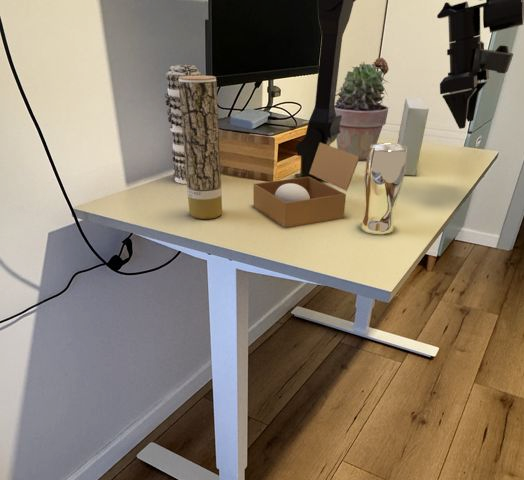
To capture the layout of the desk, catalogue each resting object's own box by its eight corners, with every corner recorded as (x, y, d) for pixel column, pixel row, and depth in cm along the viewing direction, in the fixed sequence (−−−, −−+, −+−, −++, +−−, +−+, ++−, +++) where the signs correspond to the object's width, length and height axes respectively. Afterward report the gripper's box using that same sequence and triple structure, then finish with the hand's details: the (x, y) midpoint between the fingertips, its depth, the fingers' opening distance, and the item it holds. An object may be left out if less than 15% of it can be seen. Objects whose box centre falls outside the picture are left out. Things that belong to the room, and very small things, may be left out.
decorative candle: (169, 176, 126) (157, 64, 112) (204, 173, 129) (197, 63, 115) (177, 186, 119) (166, 67, 105) (214, 182, 122) (208, 66, 108)
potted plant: (310, 159, 142) (315, 59, 128) (341, 147, 156) (349, 55, 142) (367, 168, 134) (379, 62, 120) (395, 154, 147) (409, 58, 133)
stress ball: (310, 227, 104) (321, 197, 104) (296, 215, 97) (308, 182, 96) (279, 219, 107) (289, 190, 107) (264, 207, 100) (275, 175, 100)
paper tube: (209, 222, 98) (200, 80, 84) (182, 216, 101) (170, 77, 87) (228, 213, 103) (223, 76, 89) (203, 207, 106) (194, 74, 92)
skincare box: (417, 176, 127) (429, 108, 118) (396, 175, 128) (406, 107, 119) (413, 157, 144) (423, 97, 135) (394, 156, 145) (403, 96, 136)
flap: (319, 142, 106) (320, 142, 106) (309, 173, 108) (310, 173, 108) (358, 156, 95) (360, 156, 95) (345, 190, 97) (346, 191, 98)
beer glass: (356, 222, 98) (365, 142, 90) (391, 223, 98) (404, 142, 90) (361, 235, 92) (371, 150, 84) (398, 235, 92) (412, 151, 84)
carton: (253, 206, 106) (253, 183, 104) (308, 198, 111) (309, 176, 109) (284, 227, 96) (285, 203, 93) (343, 217, 100) (346, 194, 98)
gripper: (503, 29, 86) (502, 125, 93) (516, 27, 99) (514, 111, 106) (437, 45, 92) (441, 135, 99) (457, 41, 105) (459, 120, 112)
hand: (466, 124), depth 104 cm, fingers open, 9 cm apart
